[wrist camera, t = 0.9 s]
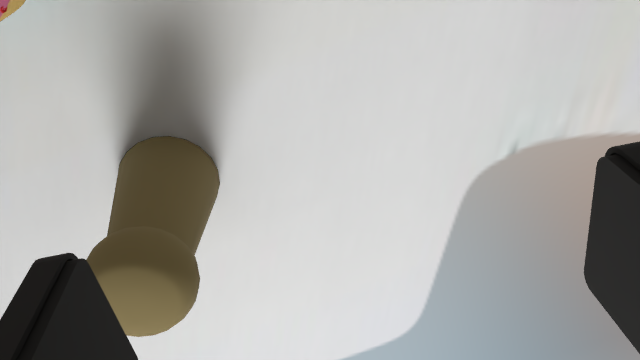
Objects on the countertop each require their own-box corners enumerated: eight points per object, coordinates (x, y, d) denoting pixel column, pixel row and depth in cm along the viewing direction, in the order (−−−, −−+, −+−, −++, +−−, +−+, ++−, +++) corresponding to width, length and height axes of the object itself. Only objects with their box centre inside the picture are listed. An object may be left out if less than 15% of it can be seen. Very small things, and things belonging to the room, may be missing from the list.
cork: (139, 230, 34) (93, 369, 24) (101, 148, 31) (33, 270, 21) (231, 210, 34) (221, 341, 24) (203, 126, 31) (180, 238, 21)
